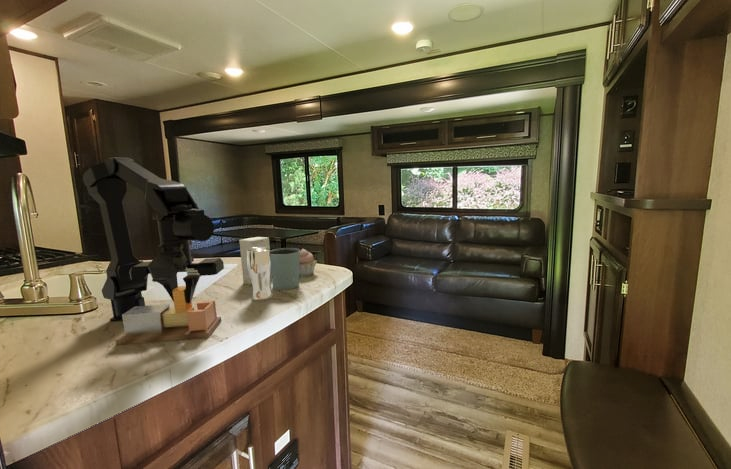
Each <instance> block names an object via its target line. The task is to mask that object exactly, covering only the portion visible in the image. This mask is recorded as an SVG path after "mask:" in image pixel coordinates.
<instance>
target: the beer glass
mask: <svg viewBox="0 0 731 469" xmlns="http://www.w3.org/2000/svg"><path fill="white" fill-rule="evenodd" d="M270 251H271V247H270V248H268V247H256V248H251V249H248V250H247V266H248V271H249V275H250V278H251V282H252V285H251V286H252V297H251V299H252V300H253V301H266V300H270V299H271V298H273V297H274V294H273V290H272V287H271V286H272V285H271V284H272V280H271V270H272V262H271V254H270Z"/></svg>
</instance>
